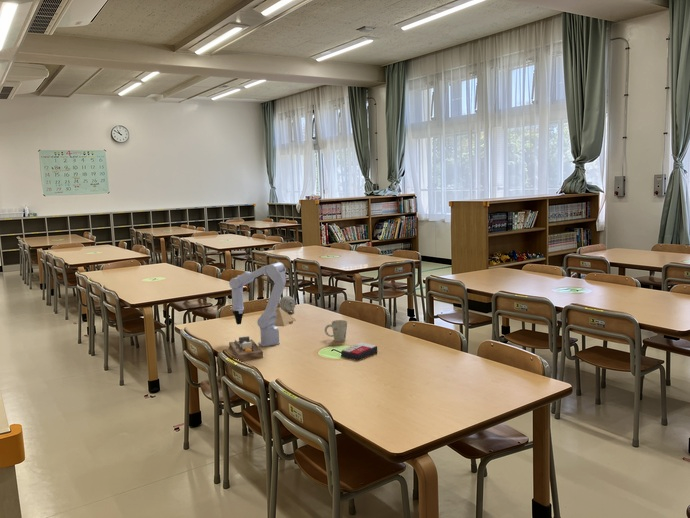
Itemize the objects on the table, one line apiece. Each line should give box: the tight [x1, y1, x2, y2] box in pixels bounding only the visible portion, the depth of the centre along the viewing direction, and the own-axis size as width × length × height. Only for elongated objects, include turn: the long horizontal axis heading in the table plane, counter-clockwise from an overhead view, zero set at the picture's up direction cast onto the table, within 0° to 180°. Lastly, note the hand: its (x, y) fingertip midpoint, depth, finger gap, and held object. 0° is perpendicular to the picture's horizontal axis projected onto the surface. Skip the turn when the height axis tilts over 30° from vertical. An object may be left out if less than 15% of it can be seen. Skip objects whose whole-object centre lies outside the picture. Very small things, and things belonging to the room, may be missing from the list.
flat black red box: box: [340, 342, 378, 361], centre depth 265 cm, size 11×4×15 cm
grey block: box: [238, 335, 252, 349], centre depth 272 cm, size 5×8×4 cm, turn 22°
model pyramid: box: [274, 306, 297, 327], centre depth 333 cm, size 17×17×10 cm
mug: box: [324, 319, 348, 342], centre depth 291 cm, size 8×13×10 cm, turn 78°
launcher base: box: [228, 339, 264, 362], centre depth 273 cm, size 12×24×4 cm, turn 22°
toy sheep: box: [278, 295, 297, 314], centre depth 358 cm, size 11×17×11 cm, turn 34°
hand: (238, 324), depth 293 cm, fingers closed
